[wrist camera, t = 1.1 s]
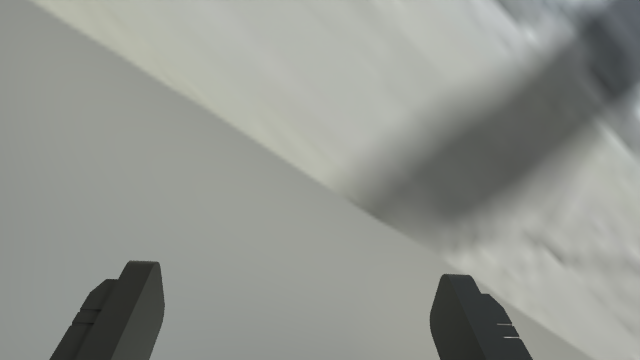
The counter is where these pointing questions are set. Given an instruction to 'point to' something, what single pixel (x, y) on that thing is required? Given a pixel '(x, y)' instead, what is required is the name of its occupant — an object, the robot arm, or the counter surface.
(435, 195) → the counter surface
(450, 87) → the counter surface
